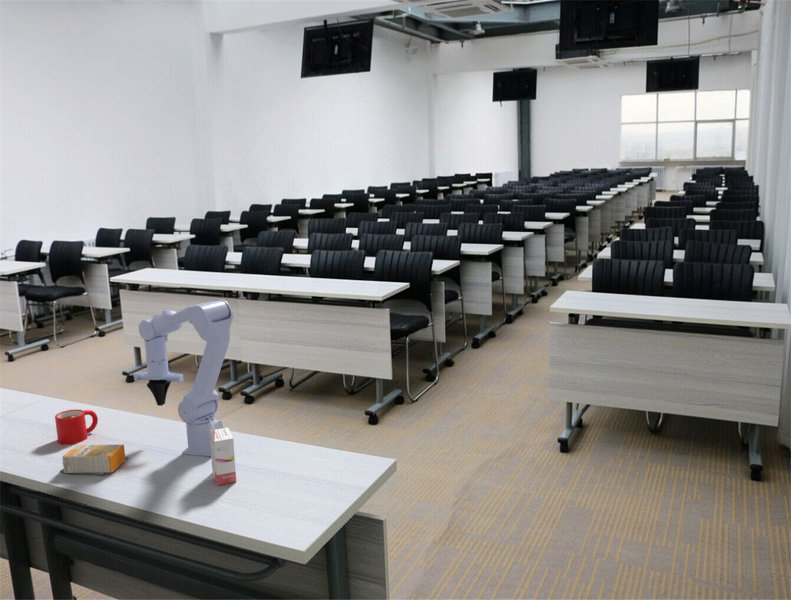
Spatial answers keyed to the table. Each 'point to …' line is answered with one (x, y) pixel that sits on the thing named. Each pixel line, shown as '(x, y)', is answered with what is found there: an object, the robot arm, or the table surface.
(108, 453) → the supplement box
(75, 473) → the mat
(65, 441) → the mug
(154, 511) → the table surface
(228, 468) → the ink cartridge box
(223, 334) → the robot arm
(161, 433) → the table surface
